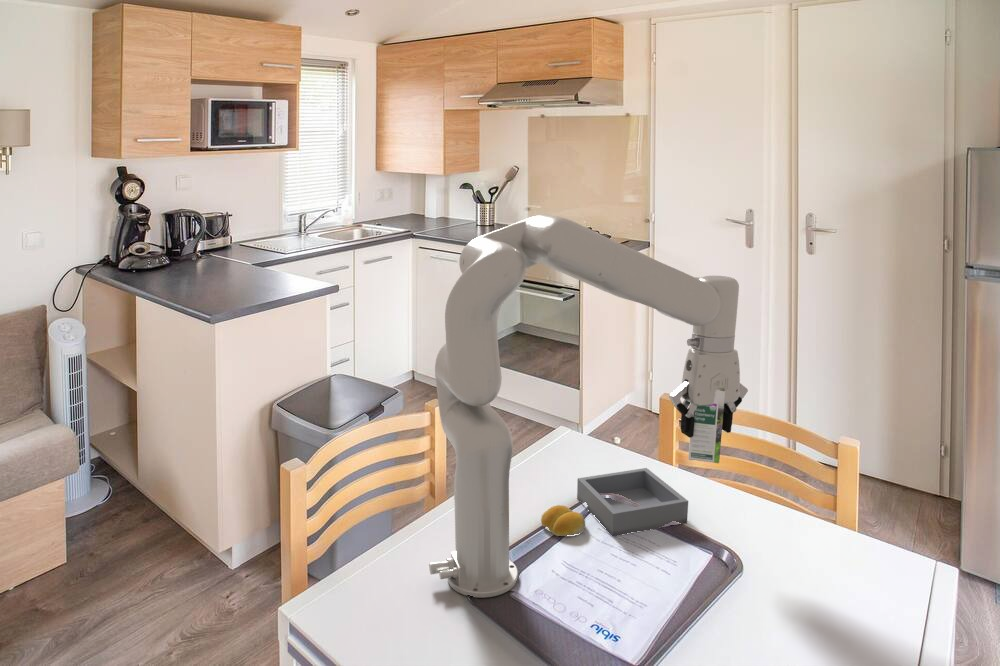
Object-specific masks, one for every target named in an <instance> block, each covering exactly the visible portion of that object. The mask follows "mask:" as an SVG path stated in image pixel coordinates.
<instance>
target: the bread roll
mask: <svg viewBox="0 0 1000 666" xmlns="http://www.w3.org/2000/svg"><path fill="white" fill-rule="evenodd" d="M540 523H541V525H542V527H543V526H547V527H548V528H549V530H550V532H549V533H551V534H553V535H554V536H556V537H558V536H567V535H574V534H579V533H581V532H582V531H583V532H584V530H585V528H586V519H585V518H584V516H583V515H582V513H580V512H576V511H573V510H572V509H570V508H569V507H568V506H566V505H559V504H558V505H553V506H551V507H549V508H548V509H547V510H546V511H544V512H543V513H542V515H541V518H540ZM584 527H585V528H584ZM583 532H582V533H583ZM582 533H581V534H582Z"/></svg>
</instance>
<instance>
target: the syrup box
mask: <svg viewBox="0 0 1000 666" xmlns="http://www.w3.org/2000/svg"><path fill="white" fill-rule="evenodd" d="M715 391H716V392H715V398H714V404H712V405H709V406H697V408H696V410H695V411H694V413H693V415H692V417H694V419H695V420H694V434H693V437H690V438H689V446H688V461H698V462H704V463H705V462H706V463H714V464H719V463H720V459H721V458H720V457H721V449H722V448H721V445H722V433H723V432H722V431H723V430H722V423H723V411H724V398H725V389H718V390H715Z"/></svg>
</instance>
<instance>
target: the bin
mask: <svg viewBox="0 0 1000 666" xmlns="http://www.w3.org/2000/svg"><path fill="white" fill-rule="evenodd" d="M576 489H577V492H576V500H577V502H579V503H580V501H585V502H586V503H587V505H588V510H589V511H588V510H587V511H588V512H589V514H590V513H592V514H593V515H595V517H596V518H597V519H598V520H599V521H600V523H601V524H602V525H603V526H604V527H605V528H606V530H607V531H608V532H609V533H610V534H611V535H612V536H614V537H618V536H617V535H620V536H623V535H622V534H625V535H628V534H627V533H631V532H636V533H638V532H637V531H642V532H645V531H644V530H647V531H651V530H650V529H653V530H658V529H660V528H659V527H662V526H664V525H665V524H668V523H670V522H672V521H676V522H679V523H681V524H680V525H684V524H688V514H689V513H688V512H689V500H688V499H687V498H685V496H683V495H682V494H680V493H679V492H678V491H677V490H675V489H674V488H673V487H672V486H670V485H669V484H667V483H666V482H665V481H664V480H662V479H661V478H660V477H659V476H657V475H656V474H655V473H654V472H653V471H651V470H650V469H649V468H647V467H642V468H637V469H630V470H624V471H617V472H610V473H604V474H597V475H592V476H585V477H577V488H576ZM599 493H614V494H619V495H622V496H624V497H626V498H628V499H631V500H632V501H634V502H636V503H638V504H641V505H642V506H638V507H633V506H630V505H627V504H623V503H621V502H617V501H615V500H612V499H611V498H603V497H602V496H601V495H600V494H599ZM600 523H599V524H600ZM601 524H600V525H601ZM602 525H601V526H602ZM603 526H602V527H603ZM604 527H603V528H604ZM605 528H604V529H605ZM657 528H658V529H657ZM606 530H605V531H606ZM607 531H606V532H607ZM608 532H607V533H608ZM609 533H608V534H609ZM610 534H609V535H610ZM631 534H632V533H631ZM611 535H610V536H611ZM612 536H611V537H612Z"/></svg>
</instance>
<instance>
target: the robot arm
mask: <svg viewBox="0 0 1000 666" xmlns="http://www.w3.org/2000/svg"><path fill="white" fill-rule="evenodd" d="M539 264H541V265H542V266H545V267H548V268H551V269H553V270H555V271H557V272H559V273H562V274H565V275H566V276H568V277H571V278H573V279H576V280H578V281H581V282H583V283H584V284H587V285H588V286H591V287H594V288H595V289H599V290H601V291H603V292H605V293H608V294H610V295H612V296H615V297H617V298H620V299H624V300H627V301H631V302H635V303H638V304H641V305H643V306H647V307H649V308H651V309H655V310H656V311H657V312H658V313H660V314H662V315H664V316H666V317H669V318H671V319H674V320H677V321H680V322H682V323H685V324H687V325H690V326H693V327H692V335H691V337H690V338H688V339H687V341H686V344H687V346H688V347H691V348H689V349H688V351H687V355H686V359H685V363H684V367H683V371H682V372H683V373H682V378H681V384H680V385H679V386H678V387H677V388H676V389H675V390H673V392H671V393H670V394H669V395H668V398H669V400H670V402H671V403H672V405H673V407H674V408H675V409H676V410H677V411H678V412H679V414H681V415H680V417H681V418H680V430H681V431H680V432H681V433H682V434H683V435H684V436H686V437H688V438H689V439H690V437H693V434H694V420H695V419H694V417H692V415H693V413H694V411H695V410H696V408H697V406H709V405H712V404H714V398H715V392H716V391H715V390H718V389H725V398H724V411H723V423H722V431H724V432H725V433H731V431H732V426H733V420H734V419H733V416H734V413H736V412H737V408H738V406H740V404H741V403H742V401H743V399H744V397H745V396H746V395H747V393H748V391H749V390H748V388H747V387H746V386H744V385H743V384H742V383H741V378H740V377H741V370H740V360H739V359H740V358H739V353H738V350H736V349H735V340H736V339H735V338H736V329H737V328H736V326H737V317H738V316H737V315H738V307H739V305H738V304H739V296H740V295H739V292H740V285H739V282H738V280H736V279H735V278H734V277H730V276H724V275H705V276H701V277H697V276H696V277H694V276H692V275H690V274H688V273H686V272H684V271H681V270H679V269H677V268H674V267H672V266H670V265H668V264H665V263H663V262H661V261H659V260H656V259H655V258H652V257H650V256H649V255H647V254H644V253H642V252H640V251H638V250H635V249H634V248H630V247H629V246H627V245H624V244H623V243H620V242H619V241H616V240H614V239H612V238H609V237H608V236H605V235H604V234H600V233H599V232H597V231H594V230H592V229H590V228H589V227H586V226H584V225H582V224H579V222H575V221H573V220H572V219H568V218H565V217H561V216H556V215H551V214H537V215H534V216H531V217H528V218H526V219H523V220H520V221H517V222H516V223H512V224H509V225H507V226H504V227H502V228H500V229H496V230H493V231H491V232H488V233H486V234H483V235H482V234H481V235H480V236H477V237H476V238H474V239H471V240H470V242H468V243H467V244H466V245H465V246H464V248H463V249H462V250H461V253H460V256H459V269H460V272H461V275H459V278H458V279H457V280H456V282H455V284H454V285H453V287H452V288H451V291H450V292H449V294H448V298H447V301H446V304H445V311H444V312H445V313H444V328H445V329H444V330H445V343H444V345H442V347H441V348H440V349H439V351H438V353H437V356H436V359H435V364H434V374H435V375H434V376H435V377H434V378H435V386H436V394H437V402H438V403H437V404H438V409H439V410H438V411H439V412H438V413H439V418H440V423H441V427H442V430H443V432H444V434H445V436H446V438H447V439H448V441H449V443H450V444H451V446H452V448H453V449H454V451H455V456H456V457H455V459H456V463H455V471H454V476H453V477H454V483H453V484H454V485H453V496H454V497H453V498H454V499H453V500H454V537H455V538H454V539H455V543H454V544H455V550H453V551H451V552H450V553H451V554H450V555H451V556H450V557H449V558H446V560H444V561H436V562H430V563H429V564H428V566H429V573H430V575H436V574H439V578H440V580H445V579H447V583H448V585H449V586H450V587H451V588H452V589H453V590H454V591H456V592H457V593H458V594H461V595H464V596H467V595H470V596H473V597H472V598H485V599H486V598H492V597H497V596H500V595H503V594H505V593H507V592H508V591H510V590H511V589H513V588H514V587H515V585H516V584H517V582H518V580H517V579H518V578H519V570H518V568H517V566H516V564H515V563H514V562H513V561H511V560H510V470H511V462H512V457H513V451H514V448H513V447H514V446H513V445H514V442H513V436H512V433H511V430H510V428H509V426H508V424H507V423H506V421H505V420H504V419H503V418H502V417H501V416H500V414H499V413H498V412H497V411H496V410H495V409H493V407H492V406H491V402H493V401H494V400H495V399H496V397H497V396H498V395H499V393H500V390H501V387H502V368H501V362H500V348H499V339H498V317H499V312H500V310H501V309H502V306H503V305H504V303H505V302H506V300H507V299H508V298H509V297H510V296H511V295H512V294H513V293H514V292H516V291H517V289H519V288H520V286H521V285H522V283H523V282H524V280H525V277H526V273H527V272H526V271H527V269H529V268H530V269H531V268H532V267H535V266H537V265H539ZM681 398H682V399H683V401H681ZM516 581H517V582H516ZM515 583H516V584H515ZM470 596H469V597H470ZM467 597H468V596H467Z"/></svg>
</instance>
